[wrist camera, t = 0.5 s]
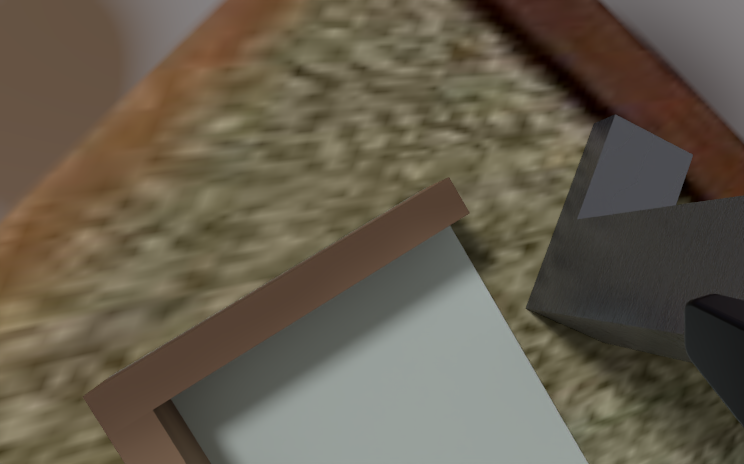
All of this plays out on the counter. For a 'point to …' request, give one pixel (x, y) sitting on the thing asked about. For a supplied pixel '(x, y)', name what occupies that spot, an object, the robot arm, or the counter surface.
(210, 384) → the mat
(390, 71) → the counter surface
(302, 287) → the corner walls
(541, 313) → the bracket
